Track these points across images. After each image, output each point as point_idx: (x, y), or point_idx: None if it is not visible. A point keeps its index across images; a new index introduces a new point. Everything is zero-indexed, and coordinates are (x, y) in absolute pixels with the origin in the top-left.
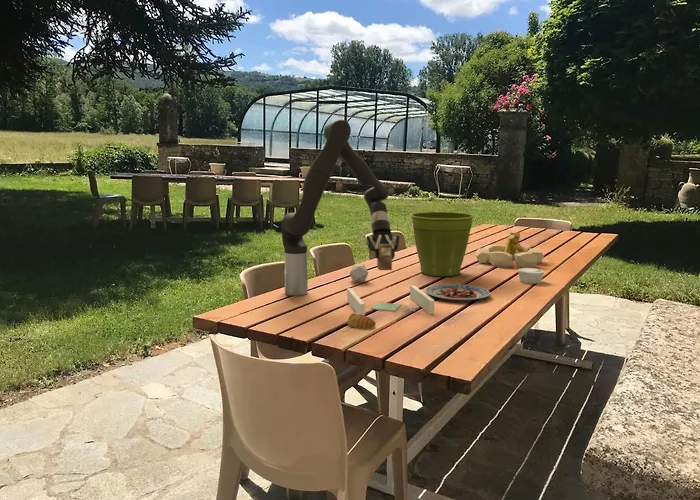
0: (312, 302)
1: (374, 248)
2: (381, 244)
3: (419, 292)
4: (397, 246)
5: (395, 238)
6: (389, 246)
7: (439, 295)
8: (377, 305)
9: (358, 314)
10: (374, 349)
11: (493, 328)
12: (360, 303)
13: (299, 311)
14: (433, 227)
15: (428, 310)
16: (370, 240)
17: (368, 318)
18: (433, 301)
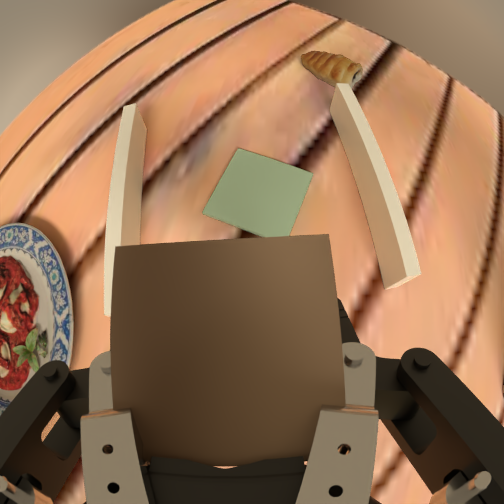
0: (483, 269)
1: (377, 364)
2: (288, 333)
3: (123, 189)
4: (47, 369)
5: (2, 480)
6: (162, 250)
7: (43, 329)
8: (290, 202)
9: (343, 66)
10: (301, 14)
11: (83, 74)
12: (348, 87)
13: (482, 184)
14: None
15: (144, 134)
16: (476, 448)
17: (318, 55)
18: (127, 107)
